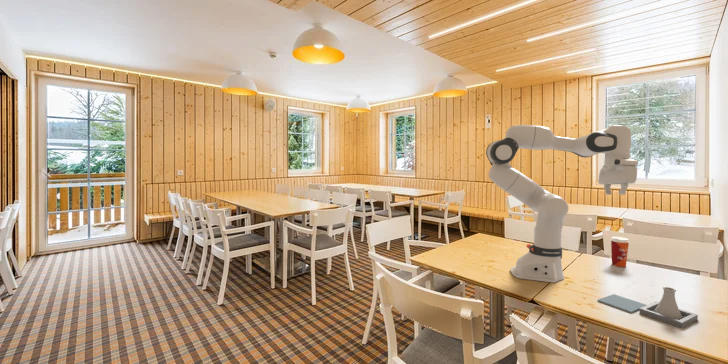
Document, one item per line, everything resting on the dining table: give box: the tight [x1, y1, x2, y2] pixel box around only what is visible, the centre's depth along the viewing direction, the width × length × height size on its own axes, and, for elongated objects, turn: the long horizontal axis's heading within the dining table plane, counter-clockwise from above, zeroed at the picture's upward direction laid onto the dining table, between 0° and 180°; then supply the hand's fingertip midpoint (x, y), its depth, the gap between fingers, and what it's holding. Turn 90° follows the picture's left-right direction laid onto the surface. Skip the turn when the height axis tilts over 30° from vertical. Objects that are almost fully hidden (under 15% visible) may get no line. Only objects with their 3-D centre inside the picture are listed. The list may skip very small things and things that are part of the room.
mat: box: [597, 293, 648, 314], centre depth 123 cm, size 11×11×1 cm
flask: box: [653, 286, 683, 320], centre depth 112 cm, size 7×7×10 cm
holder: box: [639, 301, 699, 329], centre depth 113 cm, size 11×11×2 cm
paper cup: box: [609, 236, 630, 268], centre depth 165 cm, size 8×8×14 cm
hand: (614, 194), depth 141 cm, fingers open, 8 cm apart
